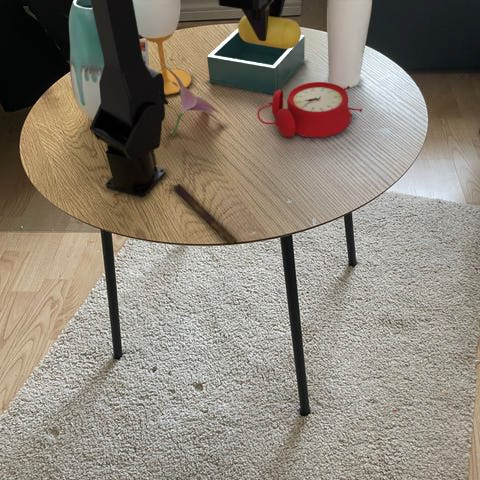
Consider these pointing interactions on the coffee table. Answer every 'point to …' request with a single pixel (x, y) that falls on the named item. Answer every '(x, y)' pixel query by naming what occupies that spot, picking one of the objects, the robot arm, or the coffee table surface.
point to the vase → (85, 57)
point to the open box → (253, 64)
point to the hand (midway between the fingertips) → (268, 34)
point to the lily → (192, 101)
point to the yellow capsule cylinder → (272, 33)
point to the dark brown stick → (205, 215)
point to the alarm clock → (312, 110)
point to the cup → (161, 34)
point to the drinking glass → (346, 39)
